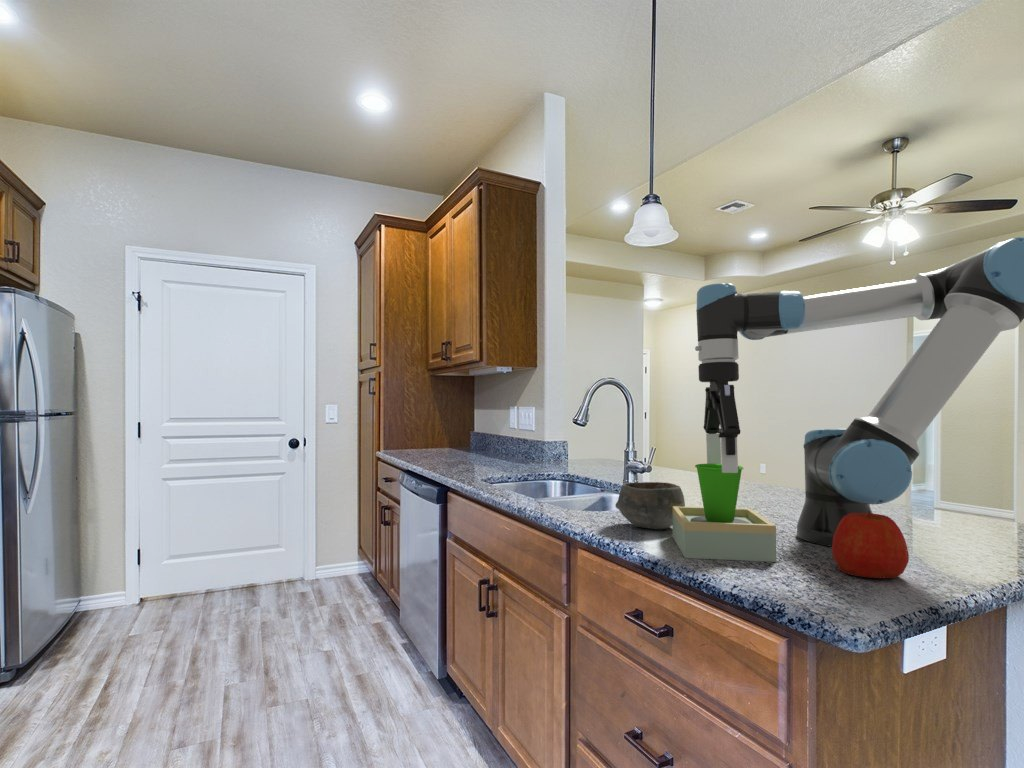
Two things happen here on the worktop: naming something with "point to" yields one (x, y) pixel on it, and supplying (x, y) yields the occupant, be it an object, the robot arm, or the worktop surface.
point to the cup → (718, 492)
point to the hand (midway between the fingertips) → (721, 468)
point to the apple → (869, 546)
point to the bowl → (650, 503)
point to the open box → (724, 535)
